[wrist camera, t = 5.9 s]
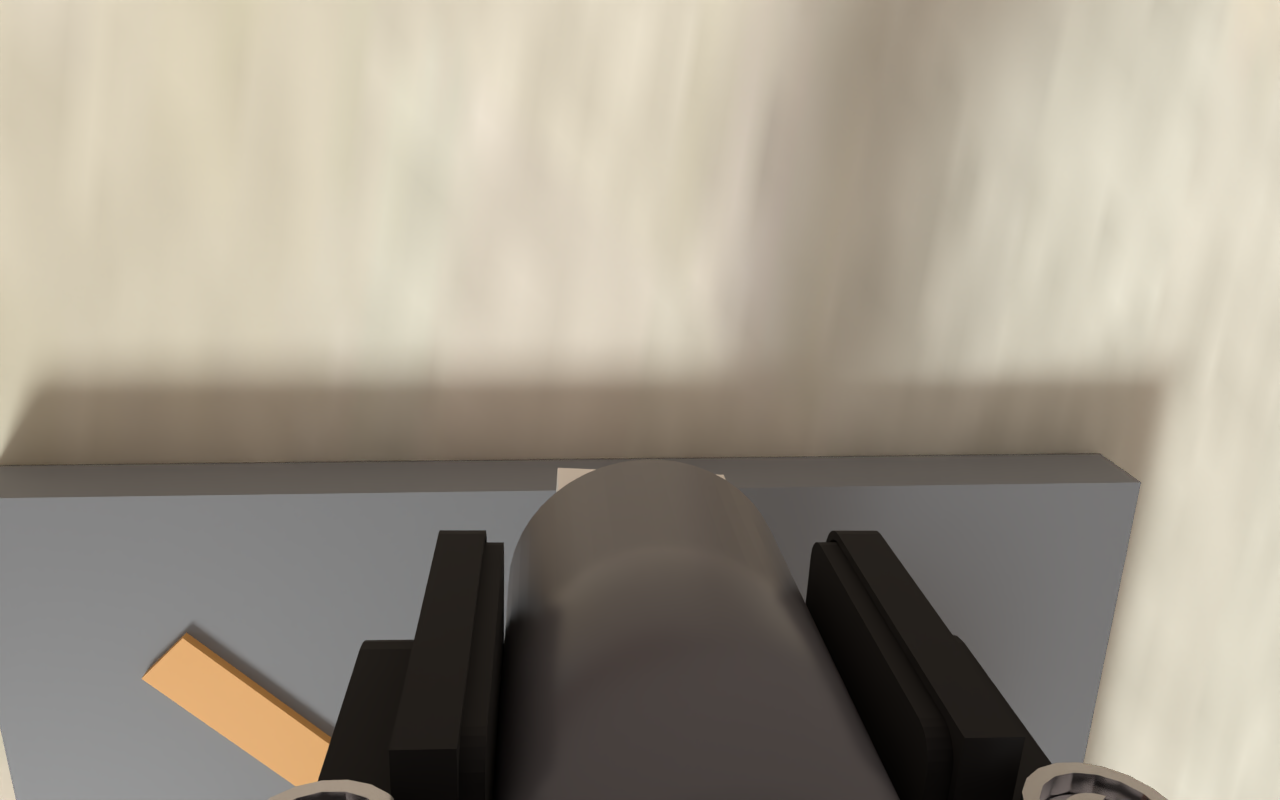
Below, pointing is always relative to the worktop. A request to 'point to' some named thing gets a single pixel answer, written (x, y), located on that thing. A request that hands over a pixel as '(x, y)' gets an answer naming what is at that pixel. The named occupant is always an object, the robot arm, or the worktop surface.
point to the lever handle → (668, 653)
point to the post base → (397, 578)
